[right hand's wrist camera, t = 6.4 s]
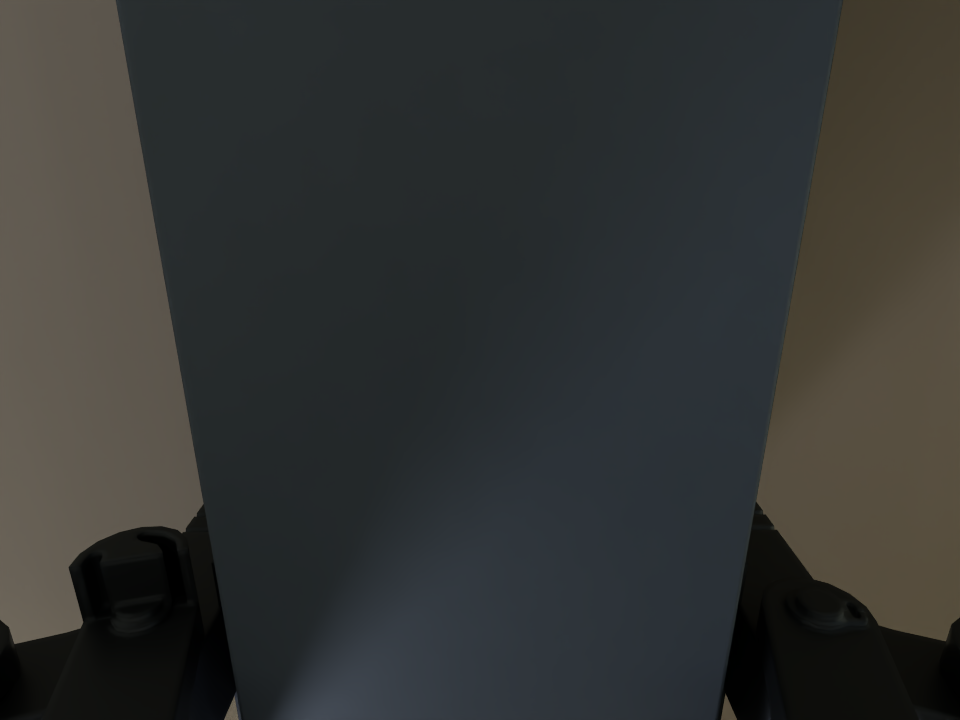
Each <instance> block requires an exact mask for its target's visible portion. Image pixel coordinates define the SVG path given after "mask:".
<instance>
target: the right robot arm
mask: <svg viewBox="0 0 960 720" xmlns="http://www.w3.org/2000/svg"><path fill="white" fill-rule="evenodd" d="M69 571H70V574H71V578H72V582H73V585H74V589H75V593H76V596H77V600H78V604H79V607H80V611H81V615H82V619H83V625H82V627H81V629H77V630H74V631H70V632H67V633H63V634H58V635H54V636H49V637H45V638H40V639H36V640H31V641H27V642H22V643H18V644H14V642H13V639H12V636H11V633H10V629H9V627H8V626H7V625H5V624H4V623H3V622H2V621H1V620H0V720H224V718H225V716H226V714H227V711H228V709H229V707H230V704H231V702H232V700H233V698H234V695H235V701H236V706H237V712H238V718H239V720H241V714H240V708H239V703H238V697H237V691H236V685H235V680H234V674H233V668H232V662H231V657H230V651H229V645H228V640H227V634H226V628H225V622H224V617H223V611H222V605H221V599H220V594H219V588H218V582H217V577H216V571H215V565H214V559H213V554H212V548H211V542H210V536H209V531H208V525H207V519H206V513H205V508H204V504H203V506H202V507H201V508H200V510H199V511H198V513H197V517H194V518H193V519H192V521H191V522H190V523H189V525H188V526H187V528H186V532H183V533H180V532H179V531H178V530H175V529H171V528H167V527H162V526H157V527H140V528H136V529H131V530H127V531H123V532H119V533H117V534H114V535H112V536H110V537H107V538H105V539H103V540H100V541H98V542H96V543H95V544H93V545H92V546H90V547H89V548H88V549H86V550H85V551H83V552H82V553H80V554H79V555H78V557H77V558H76V559H75V560H74V561H73V563H72V564H71V565H70V566H69ZM725 693H726V695H727V698H728V700H729V702H730V704H731V707H732V709H733V711H734V714H735V716H736V718H737V720H960V618H959V619H957V620H956V621H955V622H954V623H953V624H952V625H951V628H950V631H949V634H948V637H947V640H946V641H941V640H937V639H932V638H928V637H923V636H919V635H914V634H910V633H905V632H901V631H896V630H892V629H889V628H885V627H882V626H878V623H877V621H876V620H875V618H874V617H873V616H872V614H871V613H870V611H869V610H868V609H867V607H866V606H865V605H863V604H862V603H861V602H859V601H858V600H857V599H856V598H854V597H853V596H852V595H850V594H849V593H847V592H845V591H843V590H841V589H839V588H837V587H835V586H833V585H831V584H828V583H825V582H821V581H817V580H814V579H813V578H812V577H811V575H810V574H809V573H808V571H807V570H806V569H805V567H804V566H803V564H802V563H801V562H800V560H799V559H798V558H797V556H796V555H795V554H794V552H793V551H792V550H791V548H790V547H789V546H788V544H787V543H786V541H785V540H784V539H783V537H782V536H781V535H780V533H779V532H778V531H777V530H774V525H773V524H772V523H771V521H770V520H769V518H768V517H767V516H766V515H763V510H762V509H761V508H760V506H759V505H758V504H757V502H756V504H755V509H754V515H753V521H752V527H751V532H750V538H749V544H748V550H747V555H746V561H745V567H744V573H743V578H742V584H741V590H740V596H739V601H738V607H737V613H736V619H735V624H734V630H733V636H732V642H731V648H730V653H729V659H728V665H727V671H726V676H725V682H724V688H723V694H722V699H721V705H720V711H719V717H718V720H721V715H722V710H723V704H724V698H725Z"/></svg>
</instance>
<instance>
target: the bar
mask: <svg viewBox="0 0 960 720" xmlns="http://www.w3.org/2000/svg"><path fill="white" fill-rule="evenodd" d="M842 3H843V0H116V4H117V9H118V15H119V21H120V27H121V32H122V38H123V44H124V50H125V55H126V61H127V67H128V72H129V78H130V84H131V90H132V95H133V101H134V107H135V113H136V118H137V124H138V130H139V135H140V141H141V147H142V153H143V158H144V164H145V170H146V176H147V181H148V187H149V193H150V198H151V204H152V210H153V216H154V221H155V227H156V233H157V239H158V244H159V250H160V256H161V261H162V267H163V273H164V279H165V284H166V290H167V296H168V302H169V307H170V313H171V319H172V324H173V330H174V336H175V342H176V347H177V353H178V359H179V365H180V370H181V376H182V382H183V387H184V393H185V399H186V405H187V410H188V416H189V422H190V428H191V433H192V439H193V445H194V450H195V456H196V462H197V468H198V473H199V479H200V485H201V491H202V496H203V502H204V508H205V513H206V519H207V525H208V531H209V536H210V542H211V548H212V554H213V559H214V565H215V571H216V577H217V582H218V588H219V594H220V599H221V605H222V611H223V617H224V622H225V628H226V634H227V640H228V645H229V651H230V657H231V662H232V668H233V674H234V680H235V685H236V691H237V697H238V703H239V708H240V714H241V720H718V717H719V711H720V705H721V699H722V694H723V688H724V682H725V676H726V671H727V665H728V659H729V653H730V648H731V642H732V636H733V630H734V624H735V619H736V613H737V607H738V601H739V596H740V590H741V584H742V578H743V573H744V567H745V561H746V555H747V550H748V544H749V538H750V532H751V527H752V521H753V515H754V509H755V504H756V498H757V492H758V486H759V481H760V475H761V469H762V463H763V458H764V452H765V446H766V440H767V435H768V429H769V423H770V417H771V412H772V406H773V400H774V394H775V389H776V383H777V377H778V371H779V365H780V360H781V354H782V348H783V342H784V337H785V331H786V325H787V319H788V314H789V308H790V302H791V296H792V291H793V285H794V279H795V273H796V268H797V262H798V256H799V250H800V245H801V239H802V233H803V227H804V222H805V216H806V210H807V204H808V199H809V193H810V187H811V181H812V176H813V170H814V164H815V158H816V153H817V147H818V141H819V135H820V129H821V124H822V118H823V112H824V106H825V101H826V95H827V89H828V83H829V78H830V72H831V66H832V60H833V55H834V49H835V43H836V37H837V32H838V26H839V20H840V14H841V9H842Z"/></svg>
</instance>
